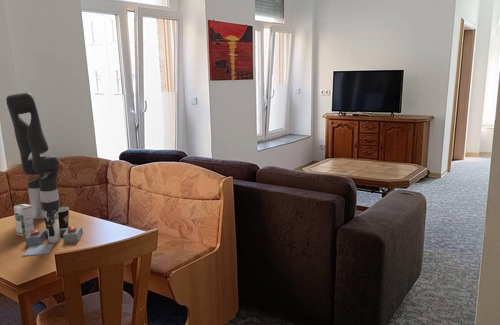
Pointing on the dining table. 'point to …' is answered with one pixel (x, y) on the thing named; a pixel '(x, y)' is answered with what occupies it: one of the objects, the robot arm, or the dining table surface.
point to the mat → (38, 250)
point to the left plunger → (34, 232)
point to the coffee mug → (63, 217)
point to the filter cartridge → (56, 231)
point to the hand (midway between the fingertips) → (53, 233)
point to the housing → (63, 232)
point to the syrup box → (23, 219)
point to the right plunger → (71, 229)
